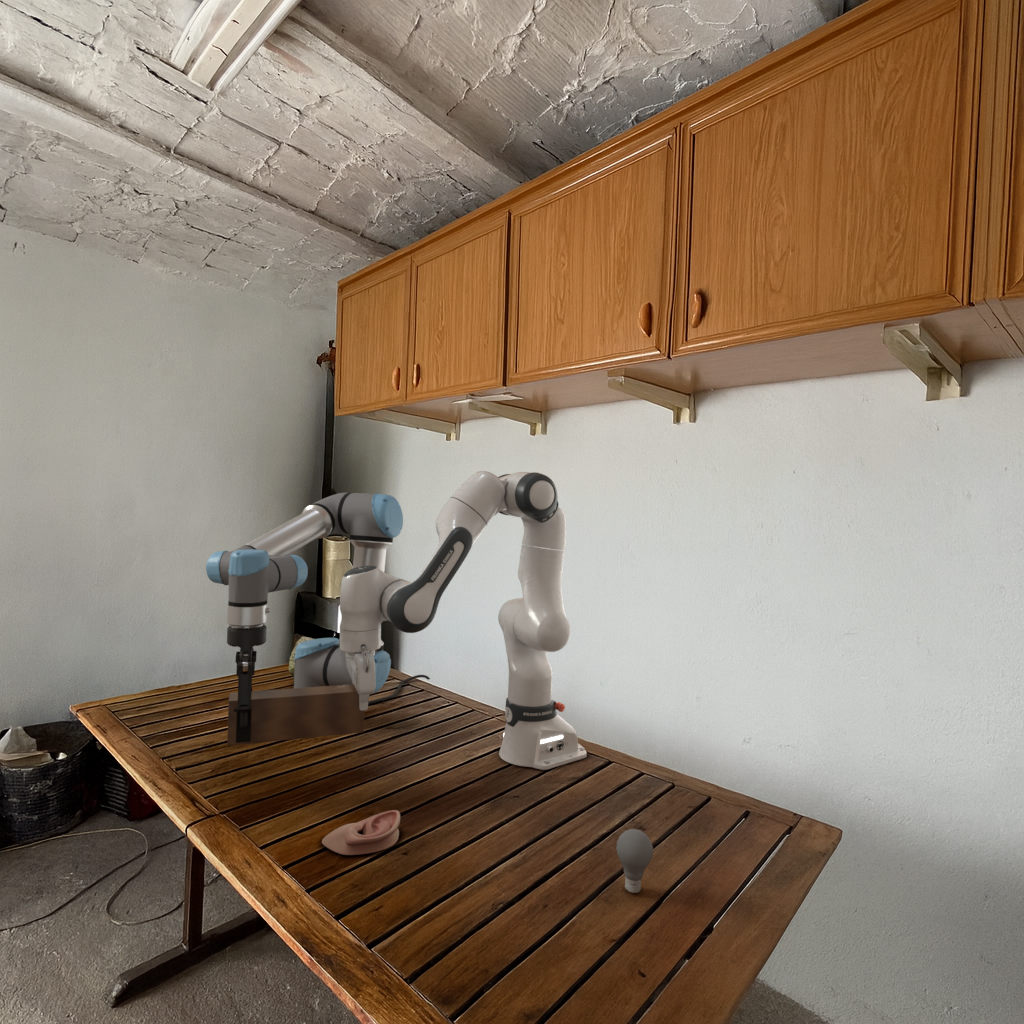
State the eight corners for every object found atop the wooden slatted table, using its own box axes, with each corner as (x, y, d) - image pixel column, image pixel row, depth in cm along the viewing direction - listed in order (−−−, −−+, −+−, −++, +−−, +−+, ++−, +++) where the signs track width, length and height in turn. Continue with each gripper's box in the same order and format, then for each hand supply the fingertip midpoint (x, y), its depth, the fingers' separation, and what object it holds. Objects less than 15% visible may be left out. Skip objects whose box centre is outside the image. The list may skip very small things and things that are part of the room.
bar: (227, 745, 128) (228, 701, 127) (228, 735, 133) (230, 692, 133) (363, 732, 138) (365, 690, 137) (360, 723, 143) (361, 683, 142)
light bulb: (610, 879, 108) (613, 822, 108) (644, 879, 109) (647, 822, 109) (619, 902, 102) (622, 840, 102) (655, 901, 103) (658, 840, 103)
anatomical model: (313, 828, 113) (343, 799, 125) (313, 850, 113) (342, 819, 125) (383, 839, 111) (407, 808, 122) (382, 862, 111) (406, 829, 122)
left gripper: (266, 633, 124) (262, 751, 124) (266, 615, 141) (263, 718, 141) (224, 635, 121) (220, 755, 121) (229, 616, 138) (226, 721, 139)
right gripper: (382, 650, 131) (382, 716, 131) (368, 629, 150) (367, 687, 150) (351, 652, 128) (351, 720, 129) (340, 631, 148) (340, 690, 148)
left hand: (243, 735), depth 131 cm, fingers closed on bar, 6 cm apart
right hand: (360, 702), depth 140 cm, fingers open, 8 cm apart
